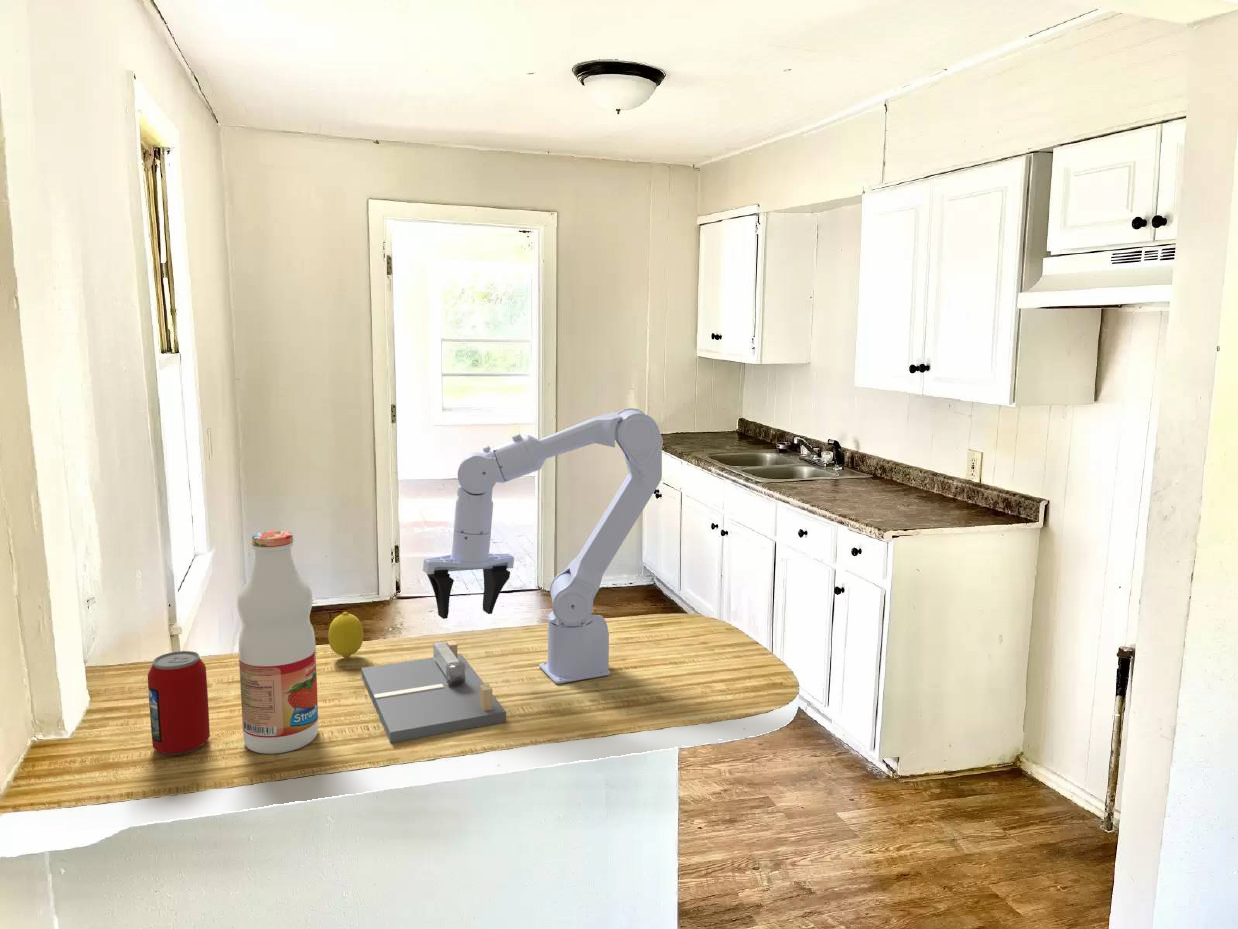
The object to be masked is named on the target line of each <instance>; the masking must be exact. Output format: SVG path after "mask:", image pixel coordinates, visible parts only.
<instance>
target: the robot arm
mask: <svg viewBox="0 0 1238 929" xmlns="http://www.w3.org/2000/svg"><path fill="white" fill-rule="evenodd" d="M511 438H512V439H511V440H509V441H507V442H504V443H501V444H499V445H495V446H493V447H490V446H489V445H487V446H484V447H483V448H482V450H483V452H479V451H474V452H472V453H469V454H467V455H466V456H465V457H464V458H463V459H462V460H461V461H460V464H459V466H458V470H457V481H458V484H459V486H458V488H457V491H456V492H457V493H456V494H457V498H456V499H455V500H456V501H455V507H454V508H455V509H454V521H453V522H454V523H453V535H452V546H451V547H452V548H451V554H446V555H441V556H437V557H430V558H424V559H423V564H422V565H423V566H422V571H423V572H424V573H425V574H426V575H427V578H428V579H429V582H430V584H431V587H432V590H433V593H434V596H435V601H436V608H437V615H438V616H439V617H440V618H442V619H443V620H445V619H446V620H447V619H448V617H449V611H450V597H451V592H452V588H453V584H454V581H455V580H454V578H452V577H451V574H450V572H462V571H474V570H482V574H483V595H482V597H483V599H482V611H483V612H485V613H486V614H488V615H492V614H493V612H494V609H495V605H496V603H497V600H498V598H499V597H500V596H499V595H500V594H501V591H502V590H503V589H504V586H505V585H506V583H507V582H508V581H509V579H510V577H511V571H509V570H510V569H514V566H515V565H514V562H515V556H514V555H511V554H510V553H490V548H491V545H490V544H491V536H492V535H491V534H492V523H493V512H494V502H493V490H494V487H495V485H496V483H499V484H500V483H501V484H504V483H507V482H511V481H513V480H515V479H519V478H521V477H523V476H526V475H529V474H532V473H535V472H538V471H540V470H541V469H542V468H543V466H544V463H545V462H546V460H547V459H550V458H553V457H556V456H558V455H562V454H565V453H567V452H572V451H574V450H578V449H580V448H584V447H587V446H590V445H594V444H597V445H602V446H605V447H606V446H607V447H610V448H616V443H617V445H618V446H619V448H620V449H621V451H622V453H623V457H624V460H625V464H626V468H627V471H628V473H627V475H626V477H624V480H623V482H622V484H620V487H619V488H618V490H617V492H615V495H614V497H613V498H612V499H611V501H610V503H609V504H608V506H607V508H605V509H606V510H605V511H604V513H603V514H602V516H601V517H600V519H599V521H598V522H597V524H596V526H595V527H594V529H593V531H592V533H590V536H589V537H588V539H587V540H586V542H585V543H584V546H582V548H581V550H580V551H579V554H578V555H577V556H576V557H575V558H573V559H572V560H571V561H570V562H569V563H568V565H567V566H566V568H565V569H564V570H563V571H562V572H560V573H558V574H557V575H556V576H554V578H553V579H552V580H551V583H550V584H549V596H550V598H551V602H552V605H551V606H552V607H551V608H552V610H551V612H549V614H548V615H547V662H541V663H539V665H538V666H539V668H540V669H541V670H542V671H543V672H544V673H545V674H546V675H547V676H548V677H549V679H551V681H553V682H554V683H555V684H557V685H559V684H563V683H571V682H575V681H582V680H586V679H587V680H588V679H593V678H594V679H595V678H601V677H605V676H610V675H611V670H609V665H610V664H609V662H610V661H609V660H610V633H609V628H608V623H607V621H606V619H605V618H604V617H603V616H602V615H600V614H598V615H597V614H596V615H595V614H593V607H594V600H595V597H596V595H597V594H598V592H599V590H600V586H601V583H602V579H603V577H604V576H603V575H604V573H605V572H606V570H607V569H608V567H609V566H610V564H611V562H613V561H612V560H613V559H614V557H615V555H616V554H617V553H618V551H619V549H620V548H621V546H622V545H623V543H624V542H625V540H626V538H627V537H628V535H629V533H630V531H631V530H632V528H633V527H634V525H635V524H636V522H637V521H638V519H639V517H640V516H641V514H642V512H643V510H644V509H645V507H646V506H647V505H648V503H649V501H650V499H651V498H652V497H653V496H652V495H653V494H654V493H655V491H656V490H657V488H658V486H659V484H660V483H661V481H662V479H663V478H662V477H663V452H662V451H663V444H664V440H663V436H662V434H661V432H660V428H659V425H658V424H657V422H656V421H655V420H654V418H652V416H650V415H648V414H645V412H643V411H642V410H640V409H638V408H635V407H634V408H633V407H630V408H629V407H628V408H627V407H626V408H625V409H622V410H620V411H619V412H617V411H612V412H608V413H605V414H601V415H599V416H598V415H597V416H594V417H592V418H590V419H587V420H585V421H583V422H580V423H577V424H575V425H572V426H570V427H567V428H565V429H563V430H559V431H558V432H554V433H552V434H549V435H547V436H545V437H543V438H537V437H534V436H532V435H531V434H526V435H523V436H522V435H521V433H517V434H514V435H512V437H511Z"/></svg>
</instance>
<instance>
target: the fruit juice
mask: <svg viewBox="0 0 1238 929" xmlns="http://www.w3.org/2000/svg"><path fill="white" fill-rule="evenodd" d="M293 543H294V536H293V534H292V533H291V532H290V531H286V530H269V531H262V532H258V533H256V534H253V535H252V536H251V546H252V549H253V550H254V553H255V557H254V563H253V567H252V571H251V574H250V576H249V579H248V580H247V582H246V583H245V584H244V585H243V587H242V588H241V590H240V592H239V594H238V597H237V607H236V608H237V612H238V615H239V618H240V621H241V624H242V626H241V631H240V634H239V635H238V636H239V637H238V662H239V664H238V666H239V684H240V703H241V718H242V720H241V721H242V737H243V738H242V739H243V742H244V745H245V747H246V748H247V749H248V750H250V751H252V752H255V753H259V754H267V755H273V754H274V755H275V754H283V753H288V752H292V751H295V750H299V749H301V748H303V747H306V746H308V745H309V744H310V743H312V742H313V741H314V740H315V738H316V737H317V735H318V733H319V704H318V703H319V702H318V677H317V676H318V675H317V655H316V653H317V649H316V646H317V645H316V636H315V630H314V627H313V625H312V623H311V619H310V614H311V613H312V612H311V611H312V606H313V602H314V601H313V594H312V590H311V588H310V586H309V584H308V583H307V582H306V580H304V578H303V577H302V576H301V575H300V573H298V569H297V568H296V566H295V563H294V561H293V560H294V559H293V556H292V551H291V550H292V547H293V546H294V544H293Z"/></svg>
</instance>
